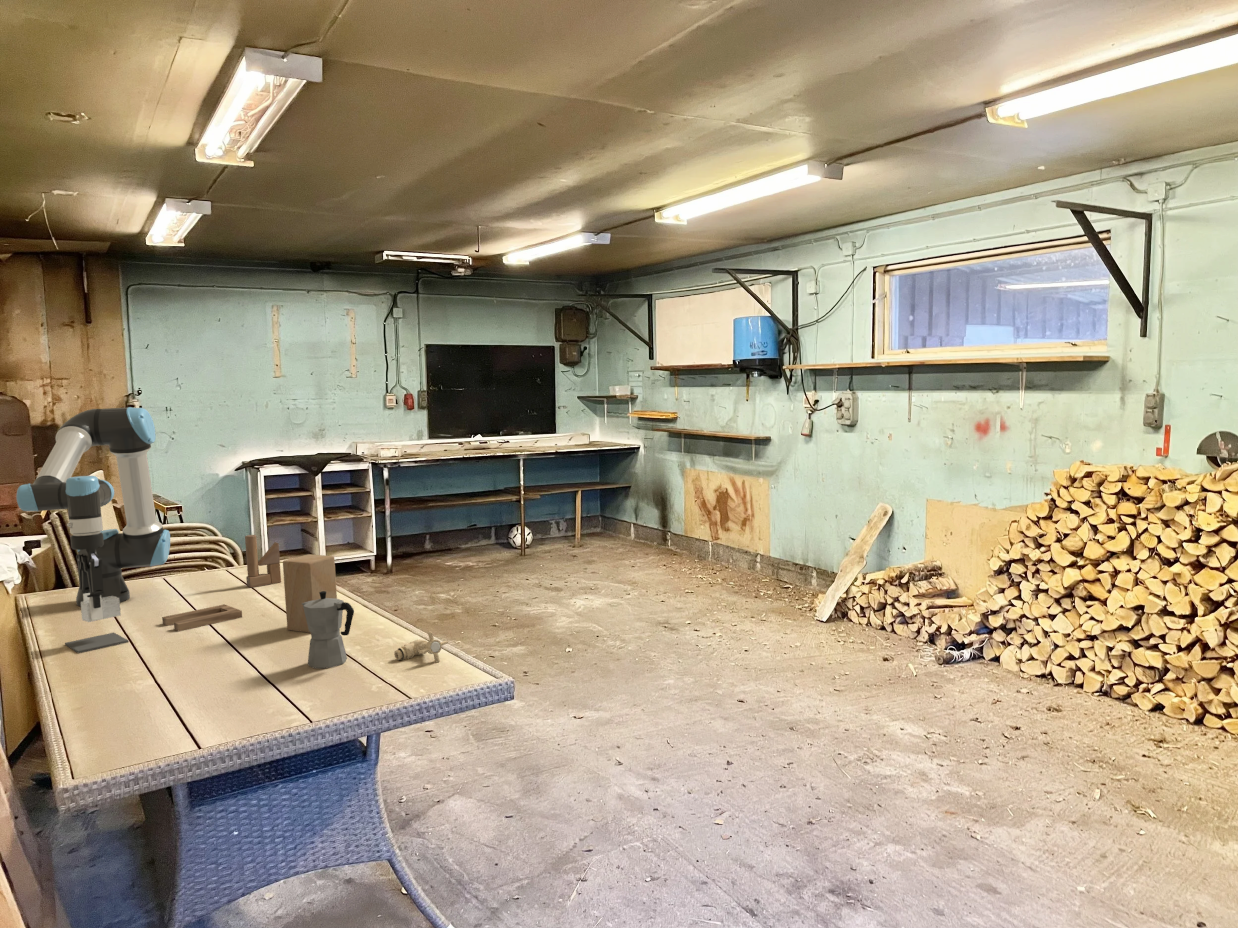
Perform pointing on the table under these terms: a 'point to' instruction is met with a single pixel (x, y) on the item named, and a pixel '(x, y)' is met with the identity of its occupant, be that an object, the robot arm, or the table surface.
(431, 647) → the valve
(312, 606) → the coffeepot
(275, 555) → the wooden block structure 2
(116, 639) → the rubber mat
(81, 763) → the table surface
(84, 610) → the aluminium block
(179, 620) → the slot board
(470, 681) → the table surface
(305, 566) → the wooden block
